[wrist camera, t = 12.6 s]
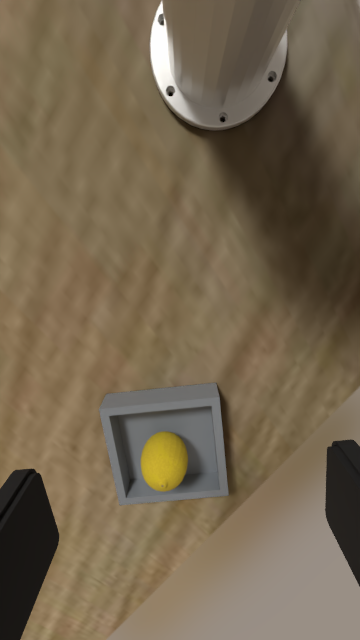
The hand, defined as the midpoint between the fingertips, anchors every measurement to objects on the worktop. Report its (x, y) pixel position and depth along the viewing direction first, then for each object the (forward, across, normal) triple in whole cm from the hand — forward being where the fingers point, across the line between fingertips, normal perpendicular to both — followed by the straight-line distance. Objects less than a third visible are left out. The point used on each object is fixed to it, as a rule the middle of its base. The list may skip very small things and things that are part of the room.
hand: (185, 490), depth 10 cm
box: (+26, +4, +17) cm, 31 cm away
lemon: (+25, +4, +17) cm, 31 cm away
